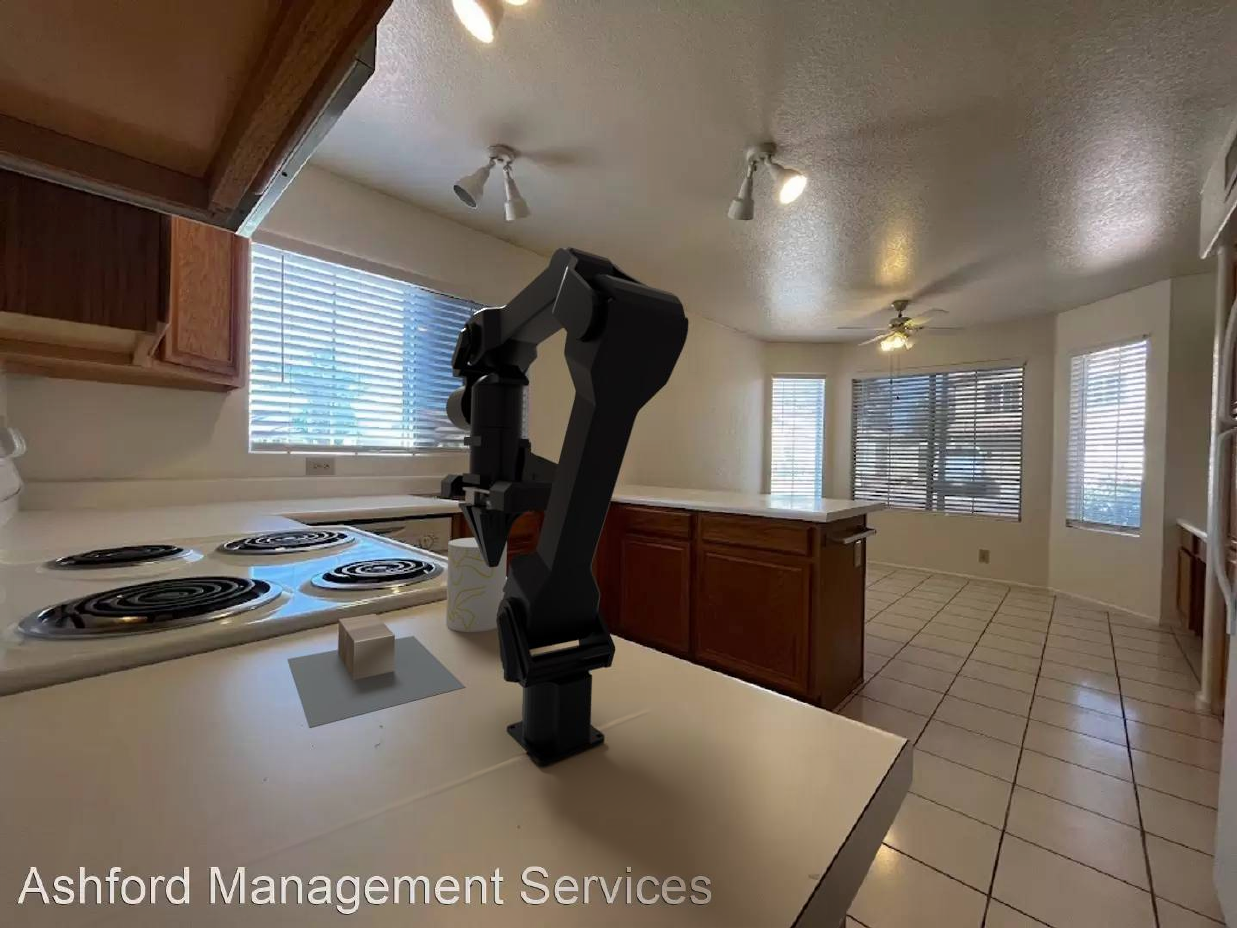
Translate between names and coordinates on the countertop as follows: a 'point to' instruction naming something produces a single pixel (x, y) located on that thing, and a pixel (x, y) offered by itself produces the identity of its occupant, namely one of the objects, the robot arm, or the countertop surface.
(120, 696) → the countertop surface
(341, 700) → the mat
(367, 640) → the walnut block
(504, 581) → the cup
